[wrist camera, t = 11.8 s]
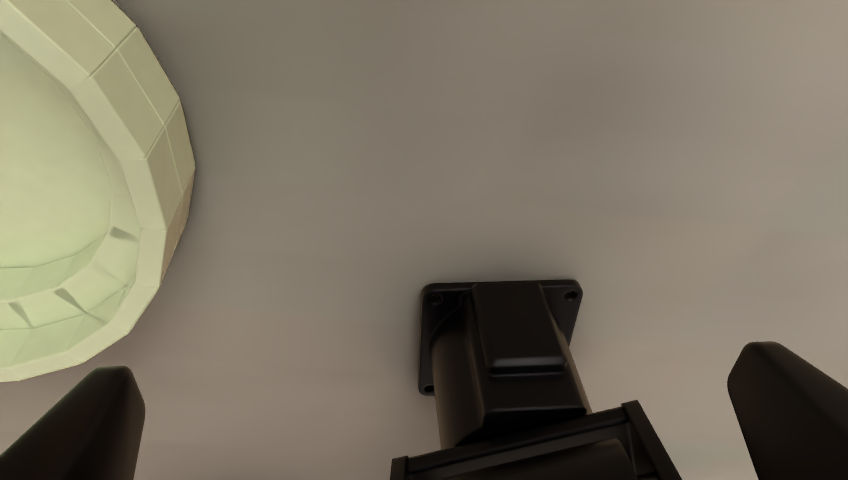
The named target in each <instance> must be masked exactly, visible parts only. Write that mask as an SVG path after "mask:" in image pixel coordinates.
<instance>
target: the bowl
mask: <svg viewBox="0 0 848 480" xmlns="http://www.w3.org/2000/svg"><path fill="white" fill-rule="evenodd" d="M194 174H195V161H194V157H193V152H192V148H191V144H190V139H189V135H188V131H187V126H186V122H185V118H184V113H183V109H182V105H181V102H180V98H179V96H178V94H177V93H176V91H175V89H174V88H173V86H172V84H171V83H170V81H169V79H168V77H167V76H166V74H165V72H164V71H163V69H162V67H161V66H160V64H159V62H158V60H157V59H156V57H155V55H154V54H153V52H152V50H151V49H150V47H149V45H148V43H147V42H146V40H145V38H144V37H143V35H142V33H141V32H140V30H139V28H138V27H136V25H135V24H134V23H133V22H132V21H131V20H130V19H129V18H128V17H127V16H126V15H125V14H124V13H123V12H122V11H121V10H120V9H119V8H118V7H117V6H116V5H115V4H114V3H113V2H112V1H111V0H0V382H15V381H20V380H25V379H29V378H32V377H36V376H40V375H43V374H47V373H51V372H54V371H58V370H62V369H65V368H69V367H73V366H76V365H79V364H82V363H84V362H86V361H87V360H89V359H90V358H92V357H93V356H95V355H97V354H98V353H100V352H101V351H103V350H104V349H106V348H107V347H109V346H111V345H112V344H114V343H115V342H117V341H118V340H120V339H121V338H123V337H125V336H126V335H128V334H129V332H130V331H131V330H132V329H133V328H134V326H135V325H136V323H137V322H138V320H139V319H140V317H141V316H142V314H143V313H144V311H145V310H146V308H147V307H148V305H149V304H150V302H151V301H152V299H153V298H154V296H155V295H156V293H157V292H158V290H159V288H160V286H161V283H162V281H163V278H164V276H165V274H166V271H167V269H168V266H169V264H170V261H171V259H172V256H173V254H174V252H175V249H176V247H177V244H178V242H179V239H180V237H181V234H182V232H183V229H184V227H185V225H186V222H187V220H188V213H189V207H190V200H191V194H192V187H193V181H194Z"/></svg>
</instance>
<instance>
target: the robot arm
mask: <svg viewBox="0 0 848 480" xmlns="http://www.w3.org/2000/svg"><path fill="white" fill-rule="evenodd" d="M568 291H572V292H570V293H567V292H568ZM432 295H439V296H437V297H431V296H432ZM582 295H583V291H582V289H581V287H580V285H579V283H578V282H577V281H575V280H537V281H502V282H466V283H434V284H429V285H427V286H425V288H424V289H423V290H422V296H421V321H420V345H419V369H418V388H419V392H420V393H421V394H423V395H426V396H435V400H436V409H437V417H438V426H439V435H440V443H441V450H439V451H435V452H431V453H427V454H423V455H418V456H414V457H410V458H409V457H408V456H403V457H399V458H395V459H392V466H391V475H390V480H682V479H681V477H680V475H679V473H678V471H677V470H676V468H675V466H674V464H673V462H672V461H671V459H670V457H669V455H668V454H667V452H666V450H665V448H664V446H663V445H662V443H661V441H660V439H659V438H658V436H657V434H656V432H655V430H654V429H653V427H652V425H651V423H650V421H649V420H648V418H647V416H646V414H645V413H644V411H643V409H642V407H641V405H640V404H639V402H638V400H634V401H630V402H626V403H622V404H621V407H617V408H613V409H608V410H604V411H600V412H596V413H592V410H591V407H590V405H589V402H588V399H587V396H586V394H585V391H584V388H583V385H582V383H581V380H580V377H579V374H578V372H577V369H576V366H575V363H574V360H573V358H572V355H571V352H570V349H569V345H570V341H571V337H572V333H573V329H574V326H575V322H576V318H577V314H578V311H579V307H580V303H581V299H582ZM727 387H728V392H729V396H730V399H731V402H732V405H733V407H734V410H735V413H736V416H737V419H738V422H739V425H740V428H741V431H742V433H743V436H744V439H745V442H746V445H747V448H748V451H749V454H750V457H751V459H752V462H753V465H754V468H755V471H756V474H757V476H758V479H759V480H848V389H847V388H846V387H844V386H843V385H841V384H840V383H838V382H837V381H835V380H834V379H832V378H831V377H829V376H828V375H826V374H825V373H823V372H822V371H820V370H819V369H817V368H816V367H814V366H813V365H811V364H810V363H808V362H807V361H805V360H804V359H802V358H801V357H799V356H798V355H796V354H795V353H793V352H792V351H790V350H789V349H787V348H786V347H784V346H783V345H781V344H779V343H777V342H770V341H769V342H751V343H748V344H747V345H745V346H744V348H743V349H742V351H741V353H740V355H739V357H738V359H737V361H736V363H735V365H734V367H733V368H732V370H731V372H730V374H729V376H728V381H727ZM144 420H145V404H144V400H143V398H142V395H141V393H140V390H139V388H138V386H137V383H136V381H135V378H134V376H133V373H132V371H131V370H130V369H129V368H128V367H126V366H111V367H99V368H96V369H95V370H93V371H92V372H90V373H89V374H88V375H87V376H86V377H85V378H84V379H83V380H82V381H80V382H79V383H78V384H77V385H76V386H75V387H74V388H73V389H72V390H71V391H70V392H69V393H67V394H66V395H65V396H64V397H63V398H62V399H61V400H60V401H59V402H58V403H57V404H55V405H54V406H53V407H52V408H51V409H50V410H49V411H48V412H47V413H46V414H45V415H44V416H42V417H41V418H40V419H39V420H38V421H37V422H36V423H35V424H34V425H33V426H32V427H31V428H29V429H28V430H27V431H26V432H25V433H24V434H23V435H22V436H21V437H20V438H19V439H18V440H16V441H15V442H14V443H13V444H12V445H11V446H10V447H9V448H8V449H7V450H6V451H4V452H3V453H2V454H1V455H0V480H133V478H134V473H135V468H136V462H137V457H138V452H139V447H140V441H141V436H142V431H143V425H144Z"/></svg>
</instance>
